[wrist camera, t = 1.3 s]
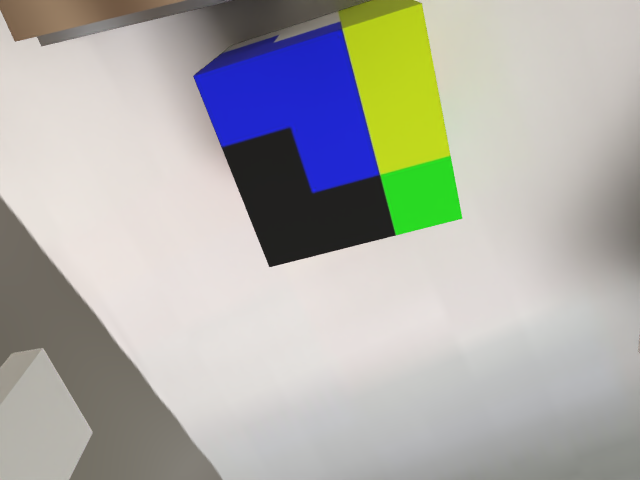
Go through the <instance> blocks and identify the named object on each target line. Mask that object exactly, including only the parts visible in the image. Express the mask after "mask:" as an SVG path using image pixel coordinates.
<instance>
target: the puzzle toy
mask: <svg viewBox="0 0 640 480" xmlns="http://www.w3.org/2000/svg"><path fill="white" fill-rule="evenodd" d="M193 77H194V79H195V82H196V84H197V87H198V89H199V92H200V94H201V97H202V99H203V102H204V104H205V107H206V109H207V112H208V114H209V117H210V119H211V122H212V124H213V127H214V129H215V132H216V134H217V137H218V139H219V142H220V144H221V147H222V149H223V152H224V154H225V157H226V159H227V162H228V164H229V167H230V169H231V172H232V174H233V177H234V179H235V182H236V184H237V187H238V189H239V192H240V195H241V197H242V200H243V202H244V205H245V207H246V210H247V212H248V215H249V217H250V220H251V222H252V225H253V227H254V230H255V232H256V235H257V237H258V240H259V242H260V245H261V247H262V250H263V252H264V255H265V257H266V260H267V262H268V265H269V267H272V266H276V265H280V264H284V263H288V262H292V261H296V260H300V259H304V258H308V257H312V256H316V255H320V254H324V253H328V252H332V251H336V250H340V249H344V248H348V247H352V246H356V245H359V244H363V243H367V242H371V241H375V240H379V239H383V238H387V237H391V236H395V235H399V234H403V233H407V232H411V231H415V230H419V229H423V228H427V227H431V226H435V225H439V224H443V223H447V222H451V221H455V220H458V219H462V214H461V209H460V204H459V198H458V193H457V188H456V182H455V177H454V172H453V166H452V161H451V156H450V151H449V145H448V140H447V135H446V129H445V124H444V119H443V113H442V108H441V103H440V97H439V92H438V87H437V82H436V76H435V71H434V66H433V60H432V55H431V50H430V44H429V39H428V34H427V28H426V23H425V18H424V13H423V7H422V3H420V2H417V1H414V0H371V1H368V2H365V3H362V4H359V5H355V6H352V7H349V8H346V9H343V10H340V11H337V12H334V13H331V14H328V15H325V16H321V17H318V18H315V19H312V20H309V21H306V22H303V23H300V24H297V25H294V26H290V27H287V28H284V29H281V30H278V31H275V32H272V33H269V34H266V35H263V36H260V37H256V38H253V39H250V40H247V41H244V42H241V43H238V44H235V45H232V46H230V47H229V48H228V49H227V50H225V51H224V52H223V53H222V54H220V55H219V56H218V57H216V58H215V59H214V60H213V61H211V62H210V63H209V64H208V65H206V66H205V67H204V68H203V69H201V70H200V71H199V72H198V73H196V74H195V75H194V76H193Z"/></svg>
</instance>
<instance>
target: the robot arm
mask: <svg viewBox="0 0 640 480" xmlns="http://www.w3.org/2000/svg"><path fill="white" fill-rule="evenodd" d="M638 351H639V353H640V335H639V346H638ZM92 433H93V432H92V430H91V428H90V427H89V425H88V423H87V422H86V420H85V418H84V417H83V415H82V413H81V412H80V410H79V408H78V406H77V405H76V403H75V402H74V400H73V398H72V396H71V395H70V393H69V392H68V390H67V388H66V386H65V385H64V383H63V381H62V379H61V378H60V376H59V375H58V373H57V371H56V369H55V368H54V366H53V364H52V362H51V361H50V360H49V357H48V356H47V354H46V352H45V351H44V349H43V348H40V349H34V350H28V351H22V352H16V353H12V354H11V355H10V356H9V358H8V359H7V360H6V361H5V363H4V364H3V365H2V366H1V368H0V480H69V478H70V477H71V474H72V472H73V471H74V469H75V467H76V464H77V463H78V461H79V459H80V456H81V455H82V453H83V451H84V449H85V447H86V445H87V443H88V441H89V439H90V437H91V435H92Z"/></svg>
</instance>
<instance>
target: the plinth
mask: <svg viewBox="0 0 640 480" xmlns="http://www.w3.org/2000/svg"><path fill="white" fill-rule="evenodd" d="M228 1H233V0H0V10H1V12H2V14H3V17H4V19H5V21H6V23H7V25H8V28H9V30H10V32H11V34H12V36H13V38H14V41H15V42H16V41H20V40H24V39H28V38H33V37H37V38H38V40H39V42H40V44H41V46H45V45H49V44H53V43H58V42H62V41H66V40H70V39H74V38H78V37H83V36H87V35H91V34H95V33H99V32H103V31H108V30H112V29H116V28H120V27H124V26H128V25H133V24H137V23H141V22H145V21H149V20H153V19H158V18H162V17H166V16H170V15H174V14H178V13H183V12H187V11H191V10H195V9H199V8H203V7H208V6H212V5H216V4H220V3H224V2H228Z"/></svg>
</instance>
